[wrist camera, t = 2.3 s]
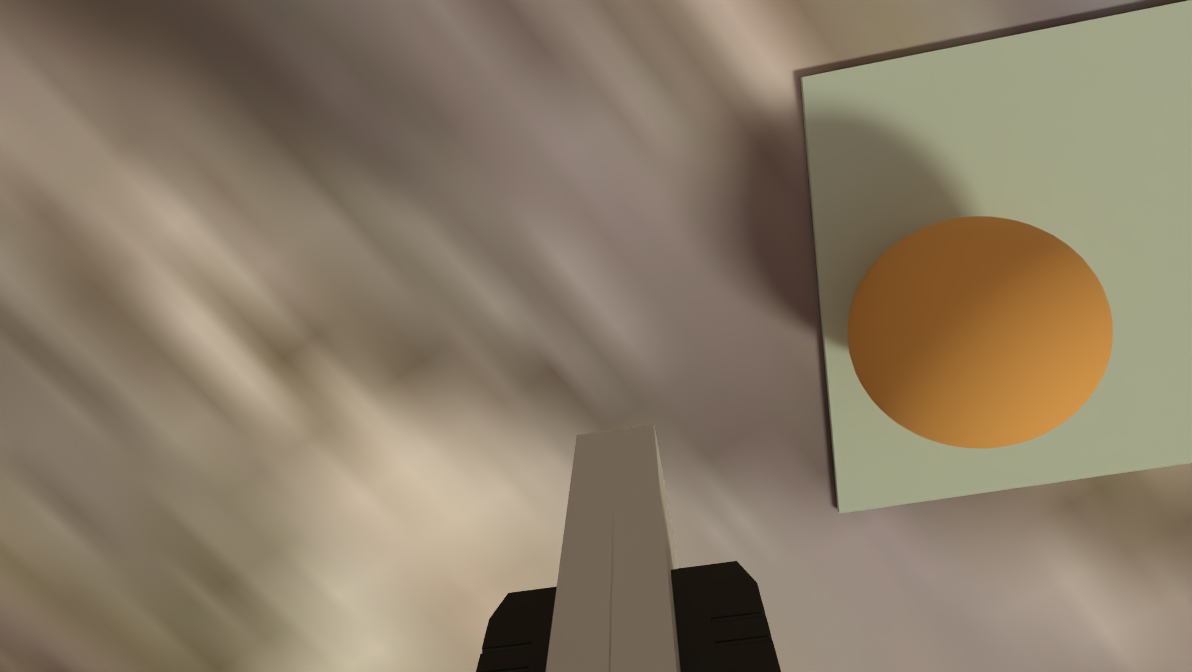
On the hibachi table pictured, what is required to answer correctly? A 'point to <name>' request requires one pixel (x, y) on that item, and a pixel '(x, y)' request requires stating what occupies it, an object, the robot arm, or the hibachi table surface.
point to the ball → (980, 332)
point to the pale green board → (1030, 195)
